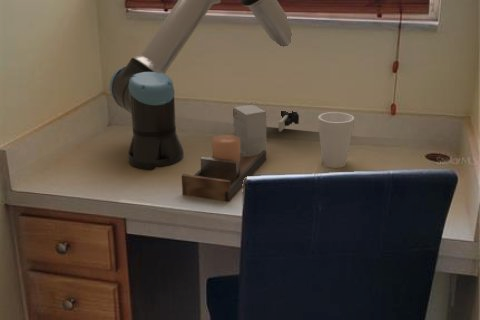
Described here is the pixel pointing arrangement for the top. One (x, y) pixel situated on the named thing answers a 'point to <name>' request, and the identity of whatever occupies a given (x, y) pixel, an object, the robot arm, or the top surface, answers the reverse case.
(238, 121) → the small box
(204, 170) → the pusher plate
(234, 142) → the terracotta jar
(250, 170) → the pusher lane
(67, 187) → the top surface
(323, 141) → the foam cup
